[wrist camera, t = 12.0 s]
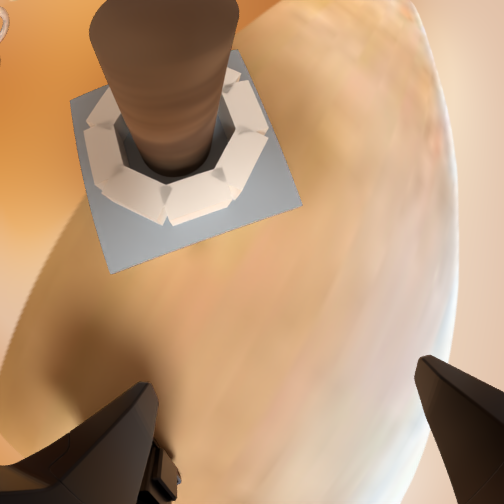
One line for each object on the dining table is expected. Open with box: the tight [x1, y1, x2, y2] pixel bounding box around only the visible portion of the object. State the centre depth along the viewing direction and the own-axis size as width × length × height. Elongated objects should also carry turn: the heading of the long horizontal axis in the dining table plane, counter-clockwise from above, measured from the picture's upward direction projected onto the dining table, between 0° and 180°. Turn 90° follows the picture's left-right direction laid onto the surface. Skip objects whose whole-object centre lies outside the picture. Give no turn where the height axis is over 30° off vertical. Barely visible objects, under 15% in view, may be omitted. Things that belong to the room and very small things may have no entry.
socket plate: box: [70, 50, 302, 274], centre depth 18 cm, size 14×14×4 cm
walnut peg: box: [89, 0, 239, 177], centre depth 13 cm, size 5×5×12 cm
